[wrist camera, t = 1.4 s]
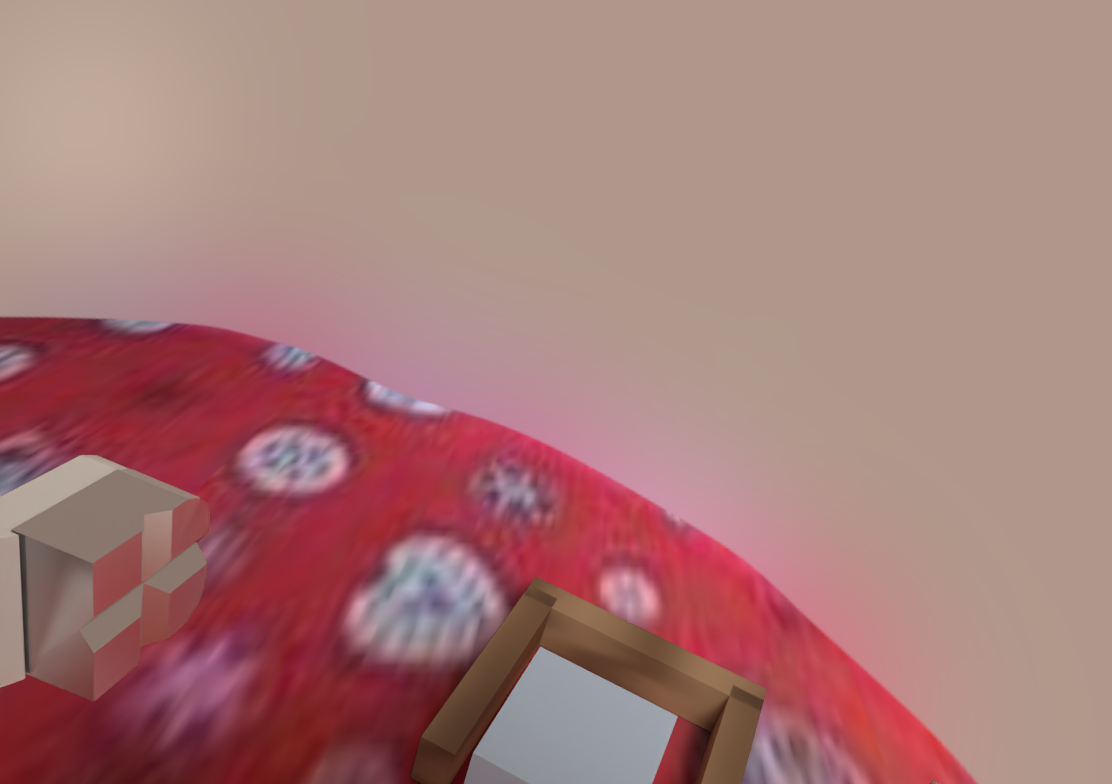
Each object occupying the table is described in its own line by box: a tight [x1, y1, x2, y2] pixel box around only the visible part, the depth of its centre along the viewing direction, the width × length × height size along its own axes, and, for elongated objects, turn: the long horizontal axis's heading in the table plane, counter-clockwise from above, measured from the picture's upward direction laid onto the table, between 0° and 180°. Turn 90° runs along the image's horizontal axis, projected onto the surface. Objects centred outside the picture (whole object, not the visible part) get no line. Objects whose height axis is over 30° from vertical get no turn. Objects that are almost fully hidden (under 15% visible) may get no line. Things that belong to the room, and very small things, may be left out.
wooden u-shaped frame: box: [410, 577, 767, 784], centre depth 39 cm, size 12×11×2 cm
